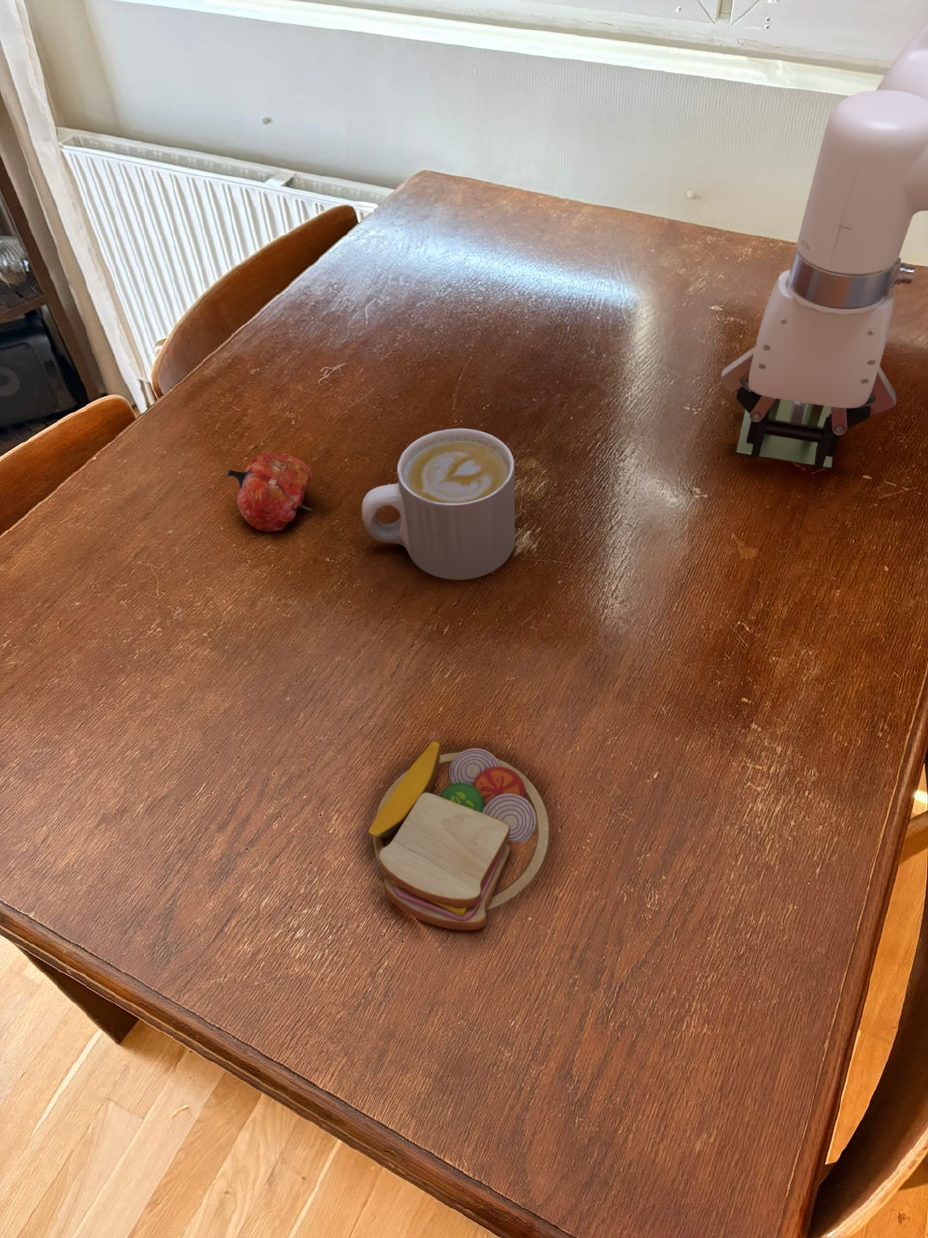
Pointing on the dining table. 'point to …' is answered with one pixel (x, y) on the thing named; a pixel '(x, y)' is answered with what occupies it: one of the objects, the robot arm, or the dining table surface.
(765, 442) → the bracket
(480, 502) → the coffee mug
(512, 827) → the toy sandwich meal
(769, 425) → the lever
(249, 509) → the pomegranate
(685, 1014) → the dining table surface
